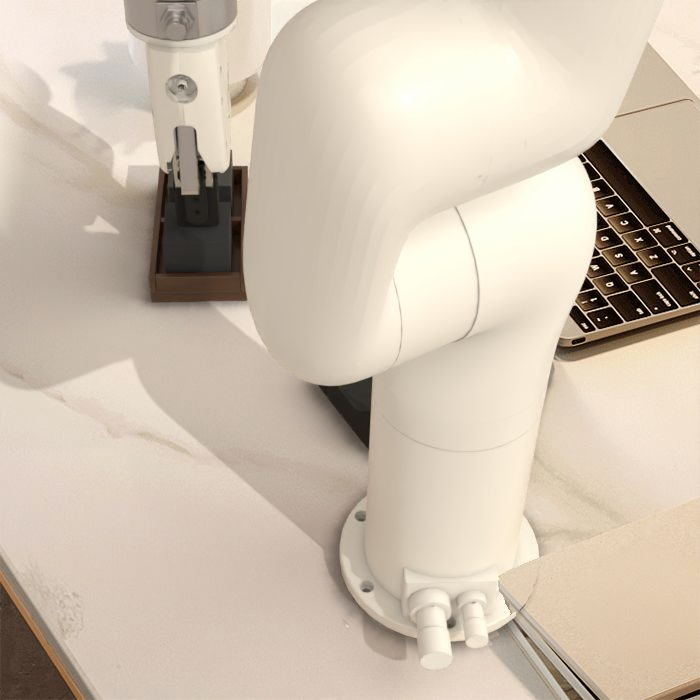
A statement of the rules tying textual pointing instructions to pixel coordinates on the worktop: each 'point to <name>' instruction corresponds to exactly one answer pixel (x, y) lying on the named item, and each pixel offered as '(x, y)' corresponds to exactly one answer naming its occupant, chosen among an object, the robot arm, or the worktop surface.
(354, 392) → the vhs tape
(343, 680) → the worktop surface
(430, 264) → the robot arm
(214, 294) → the partitioned wooden crate
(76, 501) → the worktop surface
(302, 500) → the worktop surface
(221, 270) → the block
